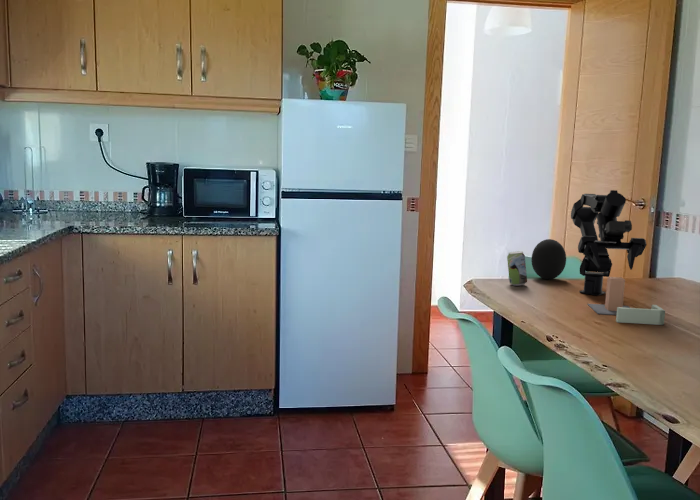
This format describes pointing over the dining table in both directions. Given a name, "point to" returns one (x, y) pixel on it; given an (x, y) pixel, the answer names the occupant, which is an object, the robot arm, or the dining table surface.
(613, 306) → the terracotta block
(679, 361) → the dining table surface
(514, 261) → the beverage can
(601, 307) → the charcoal mat
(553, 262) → the decorative egg
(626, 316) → the bar
